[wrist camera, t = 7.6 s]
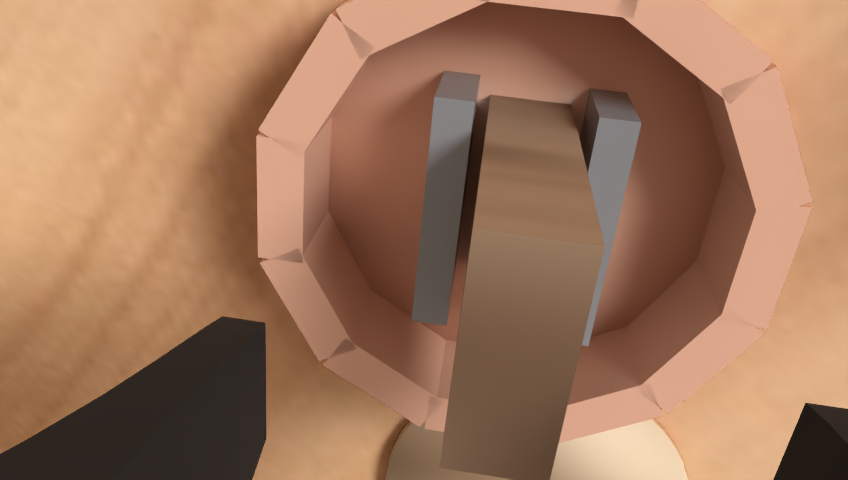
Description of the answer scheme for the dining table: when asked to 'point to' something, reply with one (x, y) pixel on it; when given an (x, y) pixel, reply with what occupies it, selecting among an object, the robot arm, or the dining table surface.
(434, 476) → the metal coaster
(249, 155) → the dining table surface
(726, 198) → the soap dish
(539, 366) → the brown rectangular block
